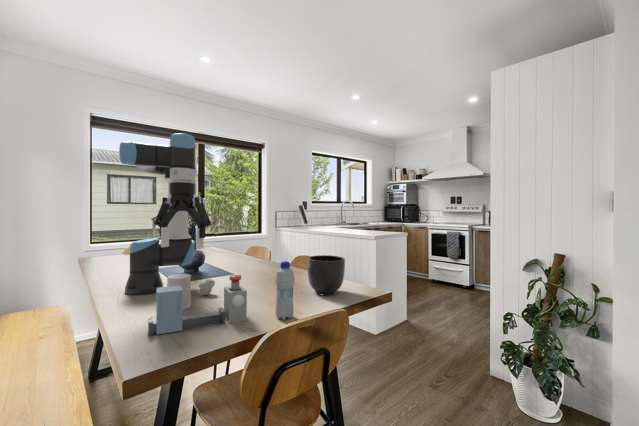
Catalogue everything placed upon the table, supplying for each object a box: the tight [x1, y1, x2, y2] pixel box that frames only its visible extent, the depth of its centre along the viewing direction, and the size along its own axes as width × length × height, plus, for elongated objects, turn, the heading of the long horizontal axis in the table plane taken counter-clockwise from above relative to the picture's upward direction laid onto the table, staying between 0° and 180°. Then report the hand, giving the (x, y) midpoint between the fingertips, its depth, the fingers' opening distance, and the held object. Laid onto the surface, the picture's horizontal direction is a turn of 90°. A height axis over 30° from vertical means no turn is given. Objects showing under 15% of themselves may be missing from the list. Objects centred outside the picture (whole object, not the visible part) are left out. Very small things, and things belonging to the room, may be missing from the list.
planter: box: [307, 254, 346, 296], centre depth 141 cm, size 17×17×16 cm
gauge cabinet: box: [223, 285, 248, 323], centre depth 108 cm, size 8×6×10 cm
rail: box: [147, 306, 226, 337], centre depth 99 cm, size 5×22×4 cm, turn 119°
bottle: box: [275, 260, 295, 321], centre depth 109 cm, size 7×7×20 cm
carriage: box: [155, 286, 184, 335], centre depth 96 cm, size 8×7×13 cm
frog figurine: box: [198, 278, 216, 296], centre depth 135 cm, size 6×7×7 cm
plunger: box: [229, 274, 242, 291], centre depth 108 cm, size 4×4×8 cm
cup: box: [166, 273, 192, 311], centre depth 118 cm, size 8×8×12 cm
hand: (182, 247), depth 100 cm, fingers open, 13 cm apart
